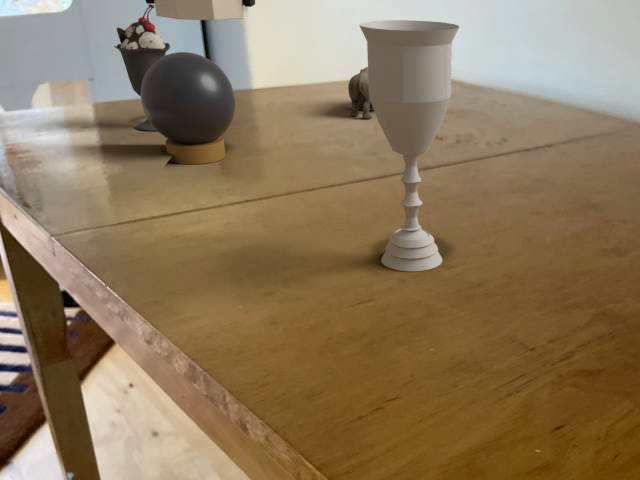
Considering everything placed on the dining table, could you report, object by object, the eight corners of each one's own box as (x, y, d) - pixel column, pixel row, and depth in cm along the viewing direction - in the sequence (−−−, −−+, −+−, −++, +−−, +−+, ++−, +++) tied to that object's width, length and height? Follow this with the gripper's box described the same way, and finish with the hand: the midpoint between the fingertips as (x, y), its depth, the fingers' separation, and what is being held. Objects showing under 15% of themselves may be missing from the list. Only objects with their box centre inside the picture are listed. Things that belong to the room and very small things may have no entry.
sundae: (189, 129, 103) (170, 5, 96) (135, 134, 100) (113, 6, 93) (175, 120, 108) (156, 1, 101) (123, 124, 105) (101, 2, 97)
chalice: (430, 240, 69) (430, 19, 60) (470, 265, 64) (477, 29, 55) (354, 254, 65) (343, 21, 57) (390, 282, 60) (385, 32, 52)
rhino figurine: (385, 101, 124) (384, 61, 121) (374, 119, 112) (373, 76, 109) (360, 101, 124) (358, 61, 121) (346, 118, 112) (344, 74, 109)
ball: (142, 168, 86) (122, 58, 81) (161, 146, 95) (145, 45, 89) (235, 168, 87) (222, 59, 82) (246, 146, 96) (235, 47, 91)
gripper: (29, -275, 54) (81, 4, 63) (284, -256, 56) (302, 11, 65) (65, -253, 61) (108, -3, 69) (293, -237, 63) (308, 3, 71)
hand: (202, 2), depth 67 cm, fingers closed on ring, 7 cm apart
